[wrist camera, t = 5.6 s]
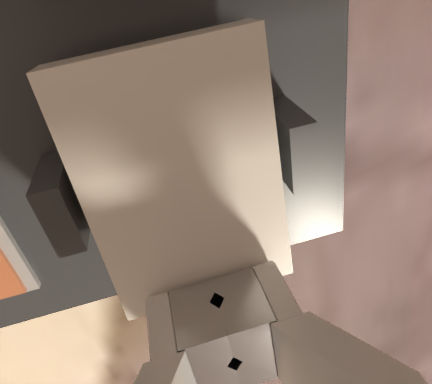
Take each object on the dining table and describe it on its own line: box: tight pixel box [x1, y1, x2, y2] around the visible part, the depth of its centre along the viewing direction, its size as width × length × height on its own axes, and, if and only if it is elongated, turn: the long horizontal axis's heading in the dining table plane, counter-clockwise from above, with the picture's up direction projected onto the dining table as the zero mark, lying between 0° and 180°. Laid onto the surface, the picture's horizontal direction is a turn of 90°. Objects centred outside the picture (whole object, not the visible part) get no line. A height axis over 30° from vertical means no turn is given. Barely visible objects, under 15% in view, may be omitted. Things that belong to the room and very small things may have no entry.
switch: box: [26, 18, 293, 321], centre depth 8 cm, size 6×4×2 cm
